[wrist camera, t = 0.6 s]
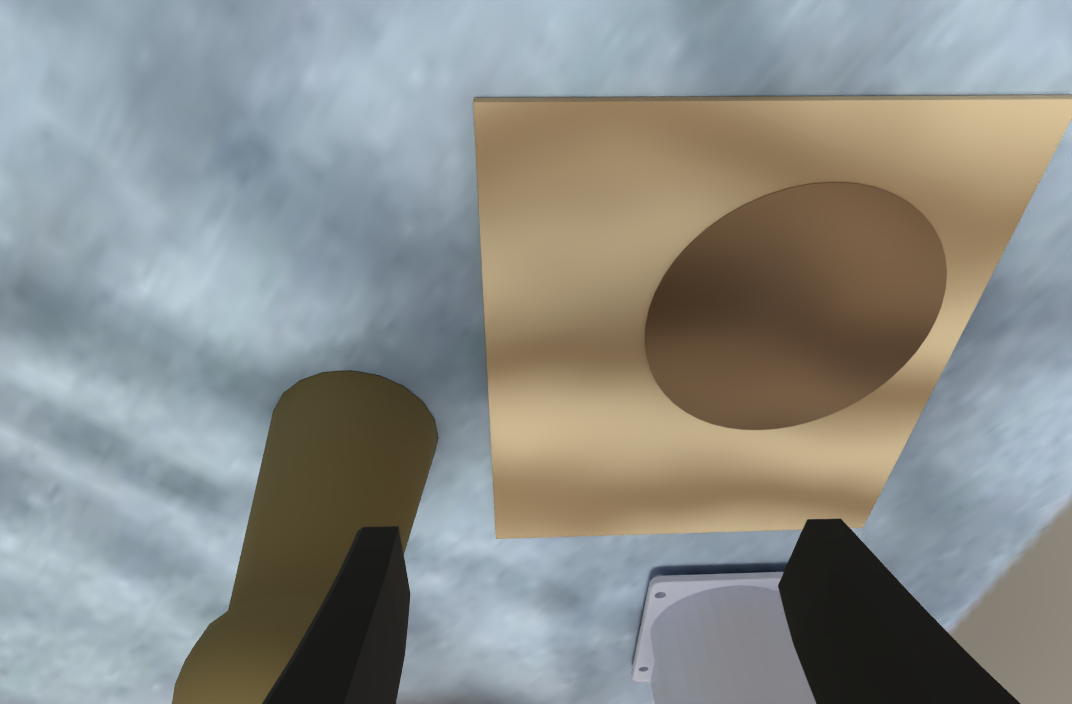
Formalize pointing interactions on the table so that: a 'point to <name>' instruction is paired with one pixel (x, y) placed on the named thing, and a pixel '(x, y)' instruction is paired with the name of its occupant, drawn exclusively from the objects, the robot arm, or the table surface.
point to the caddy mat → (731, 296)
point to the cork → (310, 522)
